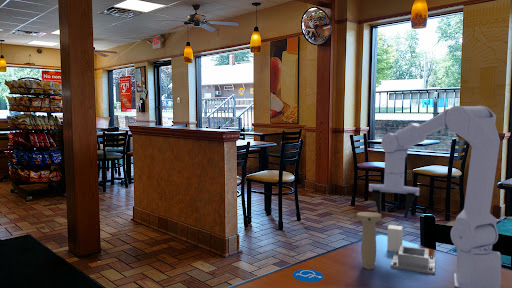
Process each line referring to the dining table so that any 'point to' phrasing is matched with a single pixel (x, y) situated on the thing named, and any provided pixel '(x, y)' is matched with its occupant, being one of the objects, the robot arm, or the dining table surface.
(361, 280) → the dining table surface
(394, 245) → the block
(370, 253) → the handle
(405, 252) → the bracket
